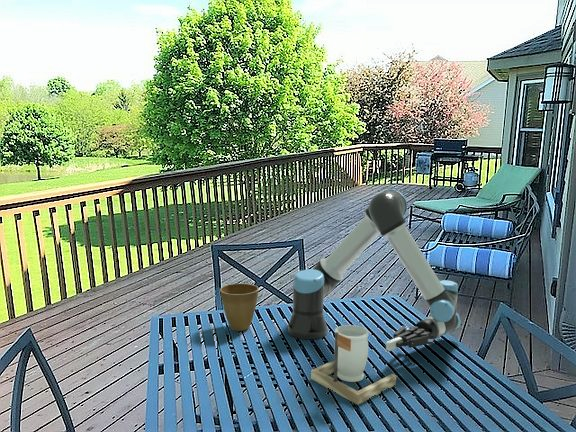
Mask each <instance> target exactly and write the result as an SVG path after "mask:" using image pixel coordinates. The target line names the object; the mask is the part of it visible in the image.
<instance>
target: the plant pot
mask: <svg viewBox="0 0 576 432" xmlns="http://www.w3.org/2000/svg"><path fill="white" fill-rule="evenodd" d="M259 289H260V288H259V287H258V286H257V285H254V284H253V283H251V284H250V283H231V284H227V285H224V286H222V287H220V289H219V290H220V297H221V302H222V307H223V311H224V314H225V317H226V321H227V322H228V325H229V328H230V330H232V331H235V332H242V331H243V332H244V331H248V330H249V329H250V327H251V324H252V321H253V317H254V314H255V311H256V308H257V307H256V306H257V302H258V297H259V296H258V295H259V291H260V290H259Z"/></svg>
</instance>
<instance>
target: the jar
mask: <svg viewBox="0 0 576 432" xmlns="http://www.w3.org/2000/svg"><path fill="white" fill-rule="evenodd" d="M335 332H338V333H339V334H341V335H343V336H345V337H348V338H350V339H351V351H347V350H345V349H343V348H341V347H338V367H337V369H338V371H337V378H339V379H340V380H342V381H345V382H349V383H357V382H360V381H362V380H364V378H365V375H364V373H363V372H364V371H365V369H366V366H367V360H368V358H369V357H368V356H369V340H368V338H369V336H370V331H369V330H368V329H367V328H365V327H363V326H360V325H354V324H344V325H339V326H337V327H336V328H335V329H334V333H335ZM333 345H334V346H333V347H334V349H333V350H334V351H333V352H334V353H333V354H335V343H334V344H333Z"/></svg>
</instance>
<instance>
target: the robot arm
mask: <svg viewBox="0 0 576 432" xmlns="http://www.w3.org/2000/svg"><path fill="white" fill-rule="evenodd" d="M407 210H408V200H407V198H406V197H405V196H404V194H403V193H401V192H400V191H399V190H394V189H387V190H384V191H382V192H380V193H377V194H376V195H374V196H373V198H371V200H370V201H369V205H368V206H367V208H366V209H365V210H364V217H363V218H362V219H361V220H360V221H359V222H358V224H356V226H355V227H354V228H353V229H352V230H351V231H350V233H349V234H348V235H347V236H346V237H345V238H344V239H343V240H342V241H341V242H340V244H339V245H338V246H337V247H336V248H335V249H334V250H333V251H332V252H331V254H330V255H329V256H328V257H327V258H326V257H325V258H321V259H319V261H318V262H317V264H315V266H313V267H312V268H311V269H302V270H299V271H297V272H296V273H295V274H294V275H293V281H292V314H291V316H290V319H289V323H288V325H287V333H288V334H289V335H290V336H292V337H294V338H297V339H302V340H316V339H317V340H318V339H321V338H323V337H325V336H326V335H327V334H328V325H327V322H326V318H325V315H324V298H325V297H327V296H328V294H330V293H332V292H333V291H334V290H335V289H336V288H337V285H339V283H340V282H342V280H343V279H344V272H345V271H346V270H347V269H348V268H349V267H350V266H351V265H352V264H353V263H354V262H355V261H356V260H357V258H358V257H359V256H360V255H361V254H362V253H363V252H364V251H365V250H366V249H367V248H368V247H369V246H370V245H371V244H372V242H373V241H374V240H375V239H376V238H377V237H378V236H379V235H380V234H381V237H383V238H386V239H387V242H389V244H390V245H391V247H392V248H393V250H394V252H395V253H396V255H397V256H398V258H399V260H400V262H401V263H402V265H403V266H404V268H405V270H406V271H407V273H408V274H409V276H410V277H411V279H412V282H414V284H415V286H416V287H417V289H418V290H419V292H420V294H421V295H422V297H423V298H424V300H425V303H426V304H427V305H428V307H429V311H430V315H431V316H429V317H427V318H425V319H422V320H420V321H418V322H416V323H415V325H414V326H410V327H407V326H406V325H402V326H401V327H400V328H399V329H398V330H396V331H395V332H394V333H393V335H392V337H393V338H391V339H389V340H388V341H386V342H385V350H386V351H387V352H391V351H393V350H395V349H399V348H402V347H408V348H415V347H420V346H425V345H432V344H434V340H436V339H438V338H440V337H442V336H444V335H445V336H446V334H449V333H452V332H454V331H455V330H457V329H458V328H459V327H460V326H461V325H462V324H461V322H462V321H461V320H462V319H461V317H460V314H459V313H458V312H457V304H458V294H459V291H458V290H459V289H458V287H459V286H458V285H459V284H458V283H457V282H454V281H453V280H446V279H445V280H444V279H443V280H439V278H438V276H437V275H436V273H435V271H434V270H433V268H432V266H431V265H430V263H429V262H428V261H427V258H426V257H425V255H424V254H423V252H422V250H421V249H420V247H419V246H418V244H417V243H416V241H415V239H414V238H413V236H412V235H411V233H410V231H409V230H408V228H407V220H406V219H405V218H404V216H405V214H406V213H407Z"/></svg>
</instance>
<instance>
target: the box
mask: <svg viewBox="0 0 576 432" xmlns="http://www.w3.org/2000/svg"><path fill="white" fill-rule="evenodd" d="M334 344H335V353H333V354H334V355H333V357H334V360H331V361H329V362H327V363H324V364H322V365H320V366H318V367H315V368H313V369H311V370H310V373H311V374H310V380H312V381H314V382H316V383H317V384H319V385H321V386H322V387H325V388H326V389H328V388H329V389H328V390H330V389H331V390H330V391H332V390H333V391H332V392H334V393H335V392H336V393H335V394H337V395H339V396H341V397H342V398H345V399H347V400H348V401H350V402H352V403H353V404H355V405H356V406H359V405H361V404H363V403H365V402H367V401H368V400H370V399H371V398H370V397H372V396H374V395H376V396H378V395H379V394H381V391H383V390H384V389H387V388H389V389H391V388H393V387H394V385H395V386H397V375H396V374H394V373H391V374H389V375H387V376H386V377H385V376H384V377H383V378H381V379H379V380H377V381H375V382H374V383H372V384H369V385H367V386H365V387H363V388H361V389H359V390H356V389H355V388H353V387H350V386H349V385H347V384H345V383H344V382H341V381H339V380H338V376H337V371H338V369H337V367H338V347H341V348H343V349H345V350H347V351H351V339H350V338H348V337H345V336H343V335H341V334H339V333H338V332H335V331H334ZM331 374H333V377H332V376H330V375H331ZM387 390H388V389H387ZM383 392H384V391H383ZM374 397H375V396H374ZM369 398H370V399H369ZM372 398H373V397H372Z"/></svg>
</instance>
